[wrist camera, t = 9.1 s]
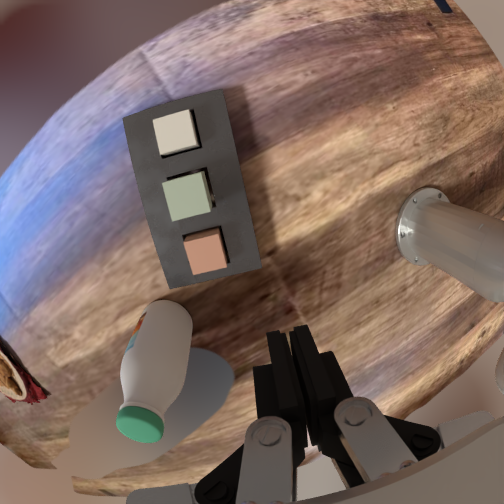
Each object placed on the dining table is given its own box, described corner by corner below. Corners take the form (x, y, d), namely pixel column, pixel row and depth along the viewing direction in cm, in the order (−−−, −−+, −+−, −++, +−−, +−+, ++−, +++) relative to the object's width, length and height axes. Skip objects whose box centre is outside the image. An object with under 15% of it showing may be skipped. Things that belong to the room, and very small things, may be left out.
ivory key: (193, 115, 30) (188, 109, 26) (199, 146, 31) (196, 144, 27) (161, 124, 30) (152, 120, 25) (168, 155, 31) (160, 154, 27)
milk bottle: (163, 287, 37) (123, 395, 18) (204, 322, 39) (196, 437, 20) (132, 319, 38) (87, 422, 19) (171, 349, 40) (150, 458, 21)
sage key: (204, 170, 30) (200, 172, 26) (212, 204, 31) (210, 211, 27) (170, 180, 30) (161, 183, 26) (178, 213, 31) (172, 221, 27)
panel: (222, 94, 30) (222, 88, 27) (259, 260, 37) (262, 267, 34) (129, 120, 29) (122, 118, 27) (173, 280, 37) (169, 289, 34)
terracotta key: (218, 224, 34) (218, 234, 30) (226, 254, 36) (226, 267, 32) (188, 232, 34) (183, 242, 30) (196, 261, 36) (193, 275, 31)
